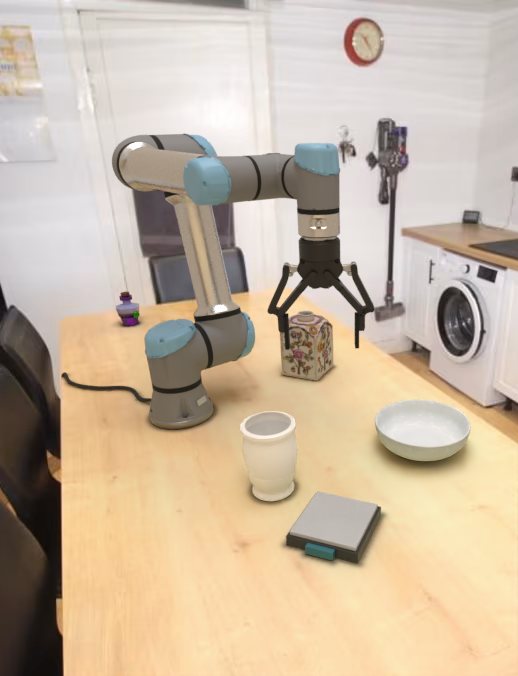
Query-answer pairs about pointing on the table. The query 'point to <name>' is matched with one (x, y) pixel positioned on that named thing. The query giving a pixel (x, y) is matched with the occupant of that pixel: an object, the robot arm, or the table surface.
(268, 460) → the jar
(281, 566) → the table surface
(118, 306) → the potion bottle
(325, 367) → the decorative jar
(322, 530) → the scale
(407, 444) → the serving bowl
